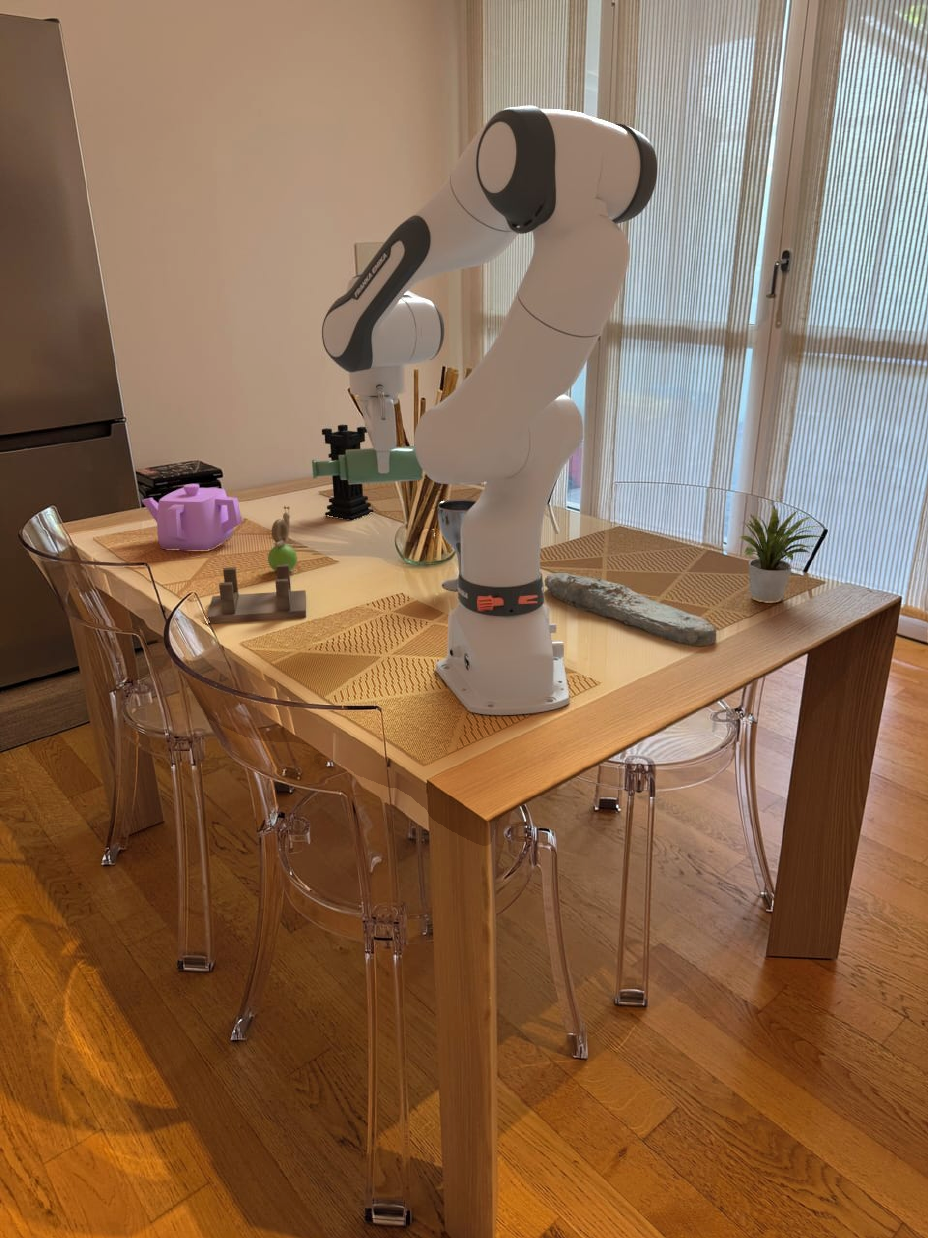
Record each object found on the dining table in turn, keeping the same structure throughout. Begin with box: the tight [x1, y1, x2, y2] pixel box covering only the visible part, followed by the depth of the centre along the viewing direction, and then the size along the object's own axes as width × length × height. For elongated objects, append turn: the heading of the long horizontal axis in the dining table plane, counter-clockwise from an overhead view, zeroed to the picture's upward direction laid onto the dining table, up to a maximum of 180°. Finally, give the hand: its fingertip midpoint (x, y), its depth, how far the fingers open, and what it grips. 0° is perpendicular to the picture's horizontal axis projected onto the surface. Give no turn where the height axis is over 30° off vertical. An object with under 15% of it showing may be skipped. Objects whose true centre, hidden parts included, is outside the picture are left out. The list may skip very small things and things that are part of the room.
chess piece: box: [321, 424, 374, 521], centre depth 207 cm, size 8×8×20 cm
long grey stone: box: [544, 572, 717, 647], centre depth 150 cm, size 35×5×10 cm
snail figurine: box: [267, 505, 298, 572], centre depth 171 cm, size 5×6×12 cm
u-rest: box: [206, 564, 307, 625], centre depth 153 cm, size 16×10×6 cm, turn 99°
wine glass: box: [437, 498, 477, 592], centre depth 162 cm, size 8×8×15 cm
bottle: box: [311, 445, 423, 485], centre depth 148 cm, size 18×6×6 cm
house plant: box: [739, 505, 824, 601], centre depth 153 cm, size 14×14×16 cm
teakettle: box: [141, 483, 243, 550], centre depth 190 cm, size 17×17×12 cm
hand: (381, 467), depth 149 cm, fingers closed on bottle, 6 cm apart
